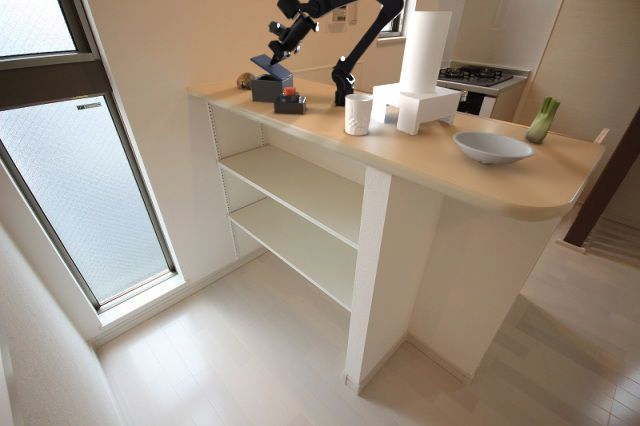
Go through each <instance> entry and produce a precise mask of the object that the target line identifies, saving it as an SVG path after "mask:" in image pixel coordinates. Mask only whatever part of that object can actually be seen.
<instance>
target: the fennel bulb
mask: <svg viewBox="0 0 640 426" xmlns="http://www.w3.org/2000/svg"><path fill="white" fill-rule="evenodd" d="M560 105H561V101H559V100H558V99H556V98H553V96H548V95H547V96H545V97H544V99H543V101H542V104H541V106H540V109H539V111H538V113H537V114H536V116H535V117H534V120H533V121H532V123H531V125H530V126H529V128H528V129H527V130H526V131H525V136H524V137H525V140H527V141H528V142H530V143H536V144H540V143H543V141H544V140H545V139H546V138H547V136H548V133H549V130H550V128H551V125H552V123H553V120H554V117H555V116H556V113H557V112H558V111H557V110H558V108H559V107H560Z"/></svg>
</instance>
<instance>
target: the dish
mask: <svg viewBox="0 0 640 426" xmlns="http://www.w3.org/2000/svg"><path fill="white" fill-rule="evenodd" d="M452 139H453V141H454V142H455V144H457V146H458V147H459V148H460V150H461V151H462V152H463V153H464V154H465V155H467V156H468V157H470V158H471V159H473V160H476V161H479V162H481V163H483V164H484V165H485V164H486V165H488V164H491V165H508V164H513V163H516V162H519V161H522V160H525V159H526V158H530V157H533V156H534V155H535V154H536V149H535V148H534V147H533V146H531V145H530V144H528V143H526V142H524V141H522V140H520V139H517V138H513V137H510V136H506V135H503V134H498V133H492V132H486V131H474V130H472V131H471V130H468V131H466V130H465V131H459V132H456V133H454V134H453V135H452Z"/></svg>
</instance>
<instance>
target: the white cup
mask: <svg viewBox="0 0 640 426" xmlns="http://www.w3.org/2000/svg"><path fill="white" fill-rule="evenodd" d="M373 99H374V98H373V95H370V94H367V93H354V94H350V95H347V96H346V97H345V106H344V123H345V125H344V126H345V127H344V130H345V133H346V134H348V135H351V136H357V137H358V136H364V135H367V134H368V133H369V127H370V124H371V119H370V118H371V112H372V106H373Z"/></svg>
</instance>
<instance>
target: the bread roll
mask: <svg viewBox="0 0 640 426" xmlns="http://www.w3.org/2000/svg"><path fill="white" fill-rule="evenodd" d="M256 77H257V75H255V74H254V73H253V72H249V71H248V72H247V71H246V72H243V73H241V74H240V75H239V76H238V77H237V79H236V87H237V88H238V89H239V90H248V91H249V90H251V82H250V80H251V79H253V78H256Z"/></svg>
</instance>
